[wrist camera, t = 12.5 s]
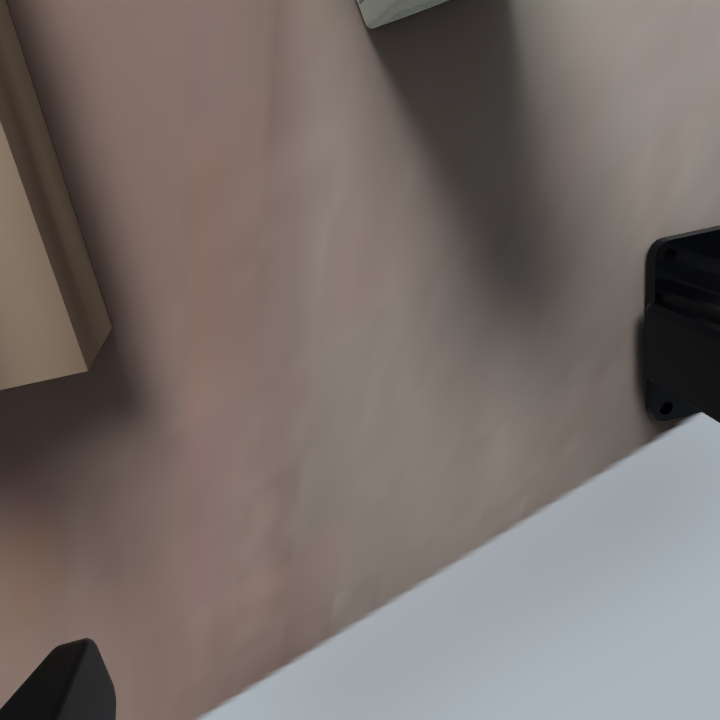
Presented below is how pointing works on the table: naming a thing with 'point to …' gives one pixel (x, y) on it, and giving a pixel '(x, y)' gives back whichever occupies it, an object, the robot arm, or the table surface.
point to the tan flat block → (39, 242)
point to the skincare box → (391, 10)
